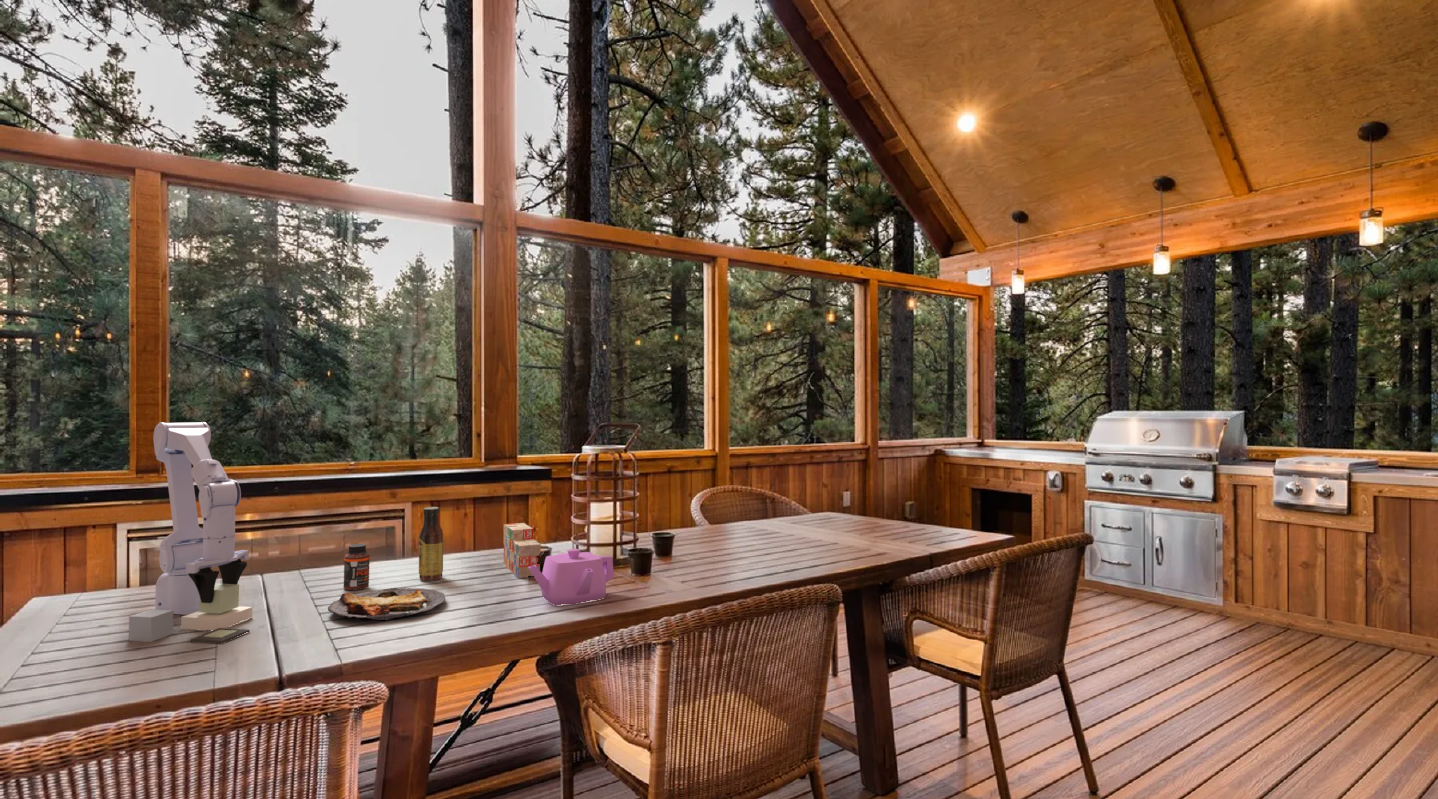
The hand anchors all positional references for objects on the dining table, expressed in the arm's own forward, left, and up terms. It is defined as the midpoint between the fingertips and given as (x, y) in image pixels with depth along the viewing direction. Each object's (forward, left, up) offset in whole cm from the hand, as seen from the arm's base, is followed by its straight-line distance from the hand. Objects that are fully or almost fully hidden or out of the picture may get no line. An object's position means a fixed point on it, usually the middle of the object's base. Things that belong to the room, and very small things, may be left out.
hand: (218, 598), depth 154 cm
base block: (0, 0, -6) cm, 6 cm away
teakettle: (+70, +31, -6) cm, 77 cm away
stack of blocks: (+45, +59, -6) cm, 74 cm away
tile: (+8, -8, -5) cm, 13 cm away
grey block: (-6, -10, -6) cm, 13 cm away
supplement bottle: (+11, +32, -6) cm, 34 cm away
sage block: (0, 0, -2) cm, 2 cm away
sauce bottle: (+25, +44, -6) cm, 51 cm away
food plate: (+30, +16, -6) cm, 35 cm away
